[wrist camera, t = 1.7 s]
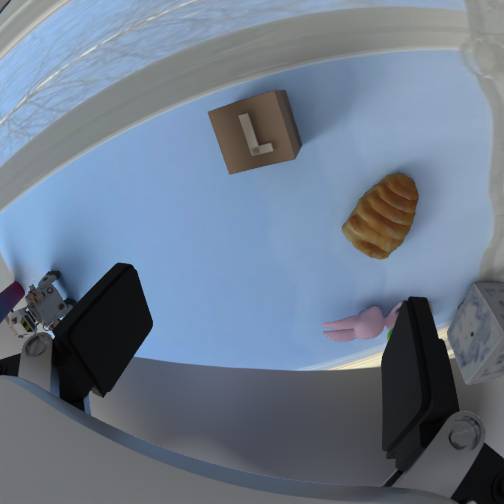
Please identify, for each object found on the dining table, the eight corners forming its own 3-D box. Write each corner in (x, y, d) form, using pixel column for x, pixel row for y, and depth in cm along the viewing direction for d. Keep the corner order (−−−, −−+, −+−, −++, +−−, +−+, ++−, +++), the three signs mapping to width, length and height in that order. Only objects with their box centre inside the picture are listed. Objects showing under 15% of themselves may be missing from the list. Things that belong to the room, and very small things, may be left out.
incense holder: (484, 332, 33) (501, 385, 25) (443, 328, 35) (456, 386, 27) (512, 281, 28) (541, 334, 20) (470, 274, 30) (497, 332, 21)
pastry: (378, 157, 27) (385, 167, 24) (429, 188, 27) (440, 202, 24) (337, 229, 32) (338, 246, 29) (386, 254, 32) (390, 273, 29)
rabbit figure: (427, 285, 34) (320, 302, 37) (444, 315, 29) (324, 336, 32) (421, 319, 37) (322, 335, 40) (434, 349, 32) (326, 368, 34)
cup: (29, 300, 64) (-3, 334, 52) (18, 294, 66) (-12, 325, 54) (20, 281, 61) (-14, 314, 48) (9, 276, 62) (-23, 307, 50)
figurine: (38, 269, 54) (-4, 309, 42) (63, 270, 51) (15, 316, 38) (55, 301, 59) (18, 342, 46) (82, 305, 55) (41, 353, 43)
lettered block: (285, 90, 26) (273, 90, 20) (302, 145, 28) (294, 160, 23) (229, 106, 28) (206, 112, 23) (247, 158, 30) (228, 175, 25)
